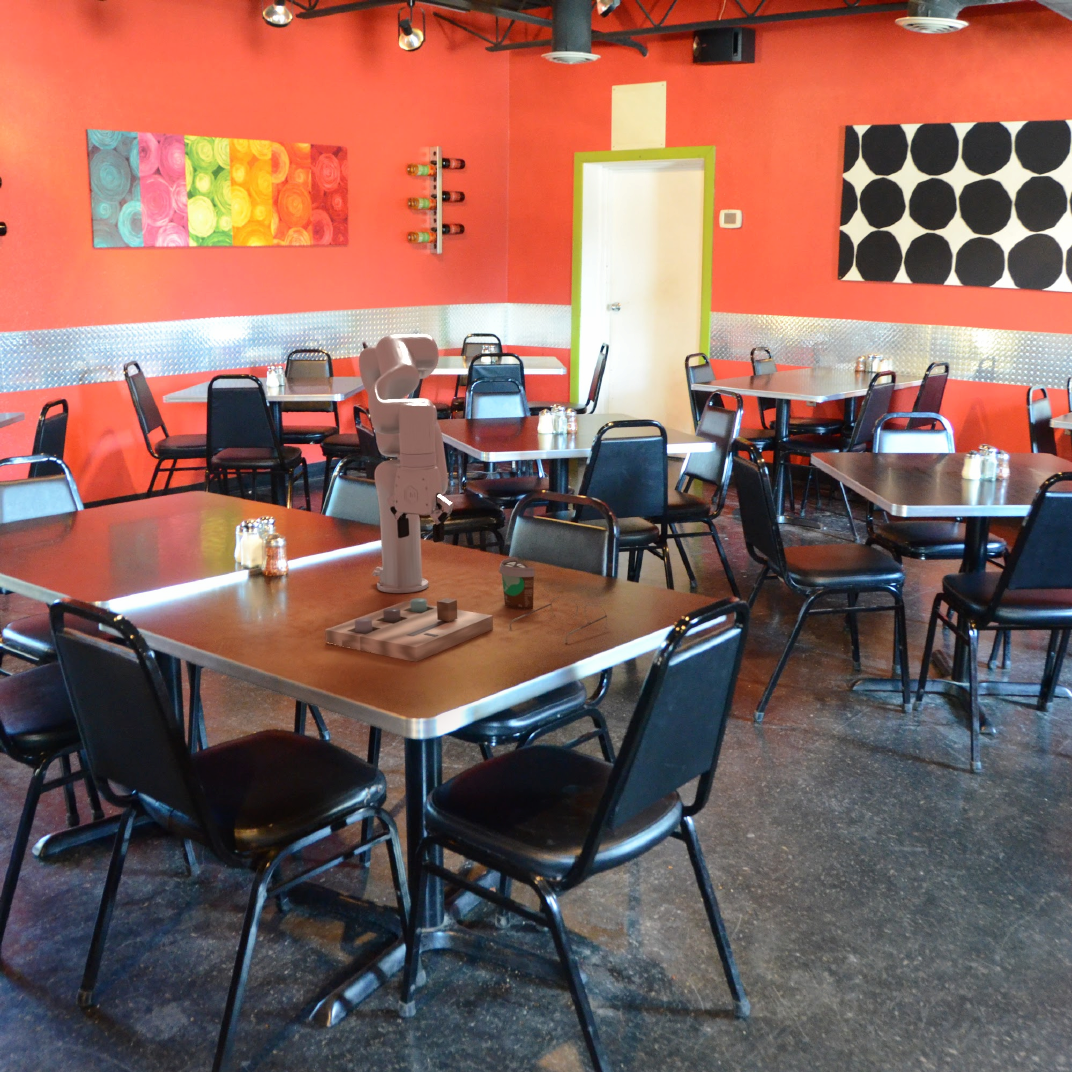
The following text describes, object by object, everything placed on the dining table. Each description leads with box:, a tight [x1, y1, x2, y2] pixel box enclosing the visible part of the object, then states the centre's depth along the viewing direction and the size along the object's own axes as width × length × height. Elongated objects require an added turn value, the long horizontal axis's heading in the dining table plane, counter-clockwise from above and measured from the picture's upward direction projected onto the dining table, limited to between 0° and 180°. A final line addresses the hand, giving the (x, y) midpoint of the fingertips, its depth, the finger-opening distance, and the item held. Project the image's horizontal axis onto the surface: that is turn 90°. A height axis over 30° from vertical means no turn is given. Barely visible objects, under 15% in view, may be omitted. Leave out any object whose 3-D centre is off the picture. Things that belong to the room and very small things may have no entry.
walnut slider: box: [436, 597, 458, 622], centre depth 245 cm, size 3×3×4 cm
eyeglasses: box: [508, 596, 608, 644], centre depth 249 cm, size 16×15×5 cm
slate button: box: [355, 617, 373, 634], centre depth 240 cm, size 4×4×3 cm
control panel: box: [325, 600, 494, 663], centre depth 245 cm, size 24×26×3 cm
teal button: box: [409, 597, 428, 614], centre depth 255 cm, size 4×4×3 cm
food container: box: [498, 556, 536, 611], centre depth 267 cm, size 12×6×10 cm, turn 21°
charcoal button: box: [383, 607, 401, 624], centre depth 247 cm, size 4×4×3 cm
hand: (421, 539), depth 252 cm, fingers open, 9 cm apart
